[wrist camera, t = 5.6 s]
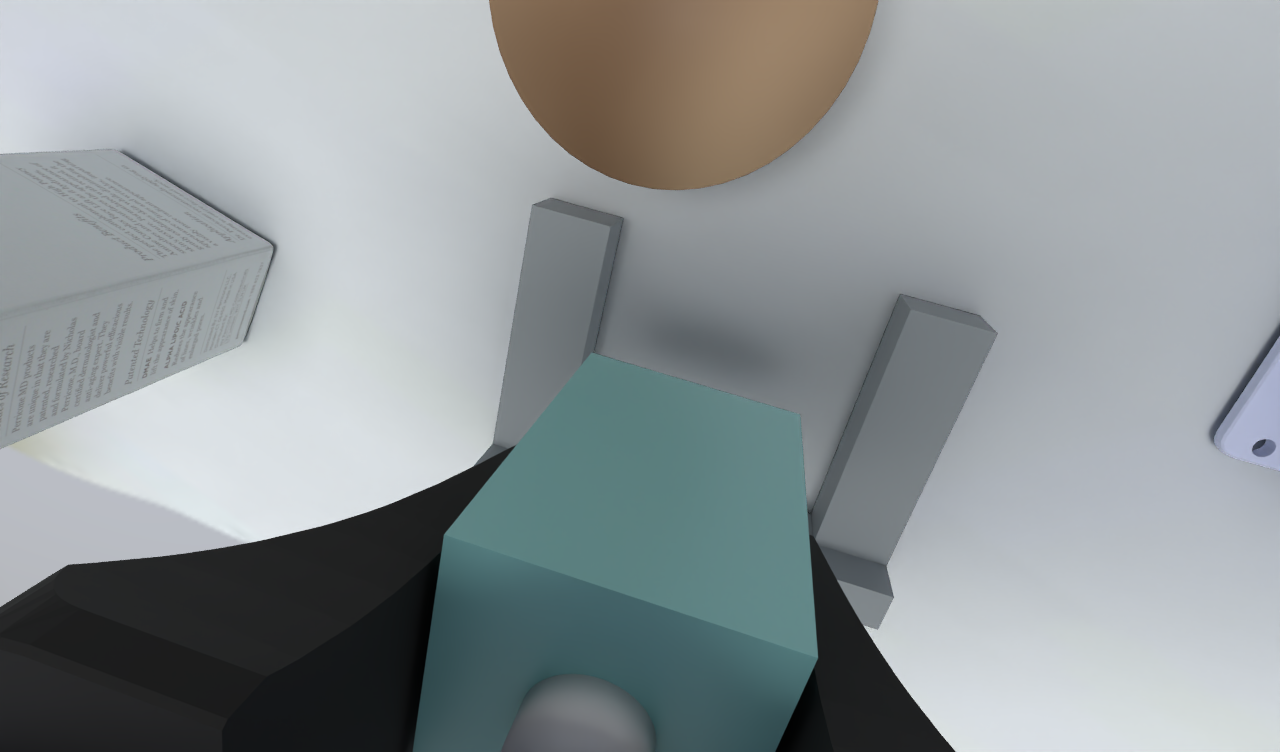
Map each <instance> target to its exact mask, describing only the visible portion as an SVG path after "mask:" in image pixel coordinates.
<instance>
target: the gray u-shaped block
mask: <svg viewBox="0 0 1280 752" xmlns="http://www.w3.org/2000/svg"><path fill="white" fill-rule="evenodd" d="M622 222H623V218H621V217H618V216H614V215H611V214H607V213H603V212H600V211H596V210H592V209H589V208H585V207H581V206H578V205H574V204H570V203H567V202H563V201H560V200H556V199H552V198H550V199H547V200H544V201H542V202H539V203H536V204H533V205H532V209H531V215H530V221H529V227H528V233H527V239H526V245H525V251H524V257H523V264H522V270H521V276H520V282H519V288H518V294H517V300H516V306H515V312H514V318H513V324H512V331H511V337H510V343H509V349H508V355H507V361H506V367H505V373H504V379H503V385H502V391H501V397H500V404H499V410H498V416H497V422H496V428H495V434H494V440H493V444H492V445H491V447H490V448H489V449H488V450H487V451H486V452H485V454H484V455H483V456H482V457H481V458H480V459H479V460H478V462H477V463H476V464H475V465H477V464H479V463H481V462H483V461H485V460H487V459H489V458H491V457H493V456H495V455H497V454H499V453H501V452H503V451H505V450H507V449H509V448H511V447H513V446H515V445H517V444H518V443H519V441H520V440H521V439H522V438H523V436H524V435H525V434H526V433H527V432H528V430H529V429H530V428H531V427H532V425H533V424H534V423H535V422H536V420H537V419H538V418H539V417H540V415H541V414H542V413H543V412H544V411H545V409H546V408H547V407H548V406H549V404H550V403H551V402H552V401H553V399H554V398H555V397H556V396H557V394H558V393H559V392H560V391H561V390H562V388H563V387H564V386H565V385H566V383H567V382H568V381H569V380H570V378H571V377H572V376H573V375H574V373H575V372H576V371H577V370H578V369H579V367H580V366H581V365H582V364H583V362H584V361H585V360H586V359H587V357H588V356H589V355H590V354H591V352H592V353H594V349H595V345H596V340H597V336H598V331H599V326H600V322H601V317H602V313H603V308H604V304H605V299H606V295H607V290H608V286H609V281H610V277H611V272H612V268H613V263H614V258H615V254H616V249H617V245H618V240H619V236H620V231H621V227H622ZM997 334H998V333H997V332H996V331H995V330H994V329H993V328H992V327H991V326H990V325H989V324H988V323H987V322H986V321H985V320H984V319H983V318H982V317H981V316H979V315H975V314H971V313H968V312H964V311H961V310H957V309H953V308H950V307H946V306H942V305H939V304H935V303H931V302H928V301H924V300H920V299H917V298H913V297H909V296H906V295H902V294H900V296H899V298H898V301H897V303H896V306H895V308H894V311H893V313H892V316H891V318H890V321H889V323H888V325H887V328H886V330H885V333H884V335H883V338H882V340H881V343H880V345H879V348H878V350H877V353H876V355H875V357H874V360H873V362H872V365H871V367H870V370H869V372H868V375H867V377H866V380H865V382H864V385H863V387H862V390H861V392H860V394H859V397H858V399H857V402H856V404H855V407H854V409H853V412H852V414H851V417H850V419H849V422H848V424H847V426H846V429H845V431H844V434H843V436H842V439H841V441H840V444H839V446H838V449H837V451H836V454H835V456H834V458H833V461H832V463H831V466H830V468H829V471H828V473H827V476H826V478H825V481H824V483H823V486H822V488H821V490H820V493H819V495H818V498H817V500H816V503H815V505H814V508H813V510H812V513H811V514H809V513H807V514H808V528H809V535H812V536H814V538H815V540H816V542H817V543H818V545H819V547H820V549H821V551H822V553H823V555H824V556H825V558H826V560H827V562H828V564H829V566H830V568H831V570H832V572H833V573H834V575H835V577H836V579H837V581H838V583H839V584H840V586H841V588H842V590H843V592H844V594H845V595H846V597H847V599H848V601H849V602H850V604H851V606H852V608H853V609H854V611H855V613H856V614H857V616H858V618H859V619H860V621H861V623H862V624H863V625H865V626H868V627H871V628H874V629H878V628H879V626H880V624H881V622H882V620H883V618H884V616H885V614H886V612H887V610H888V608H889V606H890V604H891V602H892V600H893V598H894V596H893V592H892V588H891V584H890V579H889V575H888V571H887V567H886V566H887V564H888V561H889V559H890V557H891V555H892V553H893V551H894V549H895V547H896V545H897V543H898V541H899V538H900V536H901V534H902V532H903V530H904V528H905V526H906V524H907V522H908V520H909V518H910V516H911V513H912V511H913V509H914V507H915V505H916V503H917V501H918V499H919V497H920V495H921V493H922V491H923V488H924V486H925V484H926V482H927V480H928V478H929V476H930V474H931V472H932V470H933V468H934V466H935V463H936V461H937V459H938V457H939V455H940V453H941V451H942V449H943V447H944V445H945V443H946V440H947V438H948V436H949V434H950V432H951V430H952V428H953V426H954V424H955V422H956V420H957V418H958V415H959V413H960V411H961V409H962V407H963V405H964V403H965V401H966V399H967V397H968V395H969V393H970V390H971V388H972V386H973V384H974V382H975V380H976V378H977V376H978V374H979V372H980V370H981V368H982V365H983V363H984V361H985V359H986V357H987V355H988V353H989V351H990V349H991V347H992V345H993V342H994V340H995V338H996V336H997ZM475 465H474V466H475Z"/></svg>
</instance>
